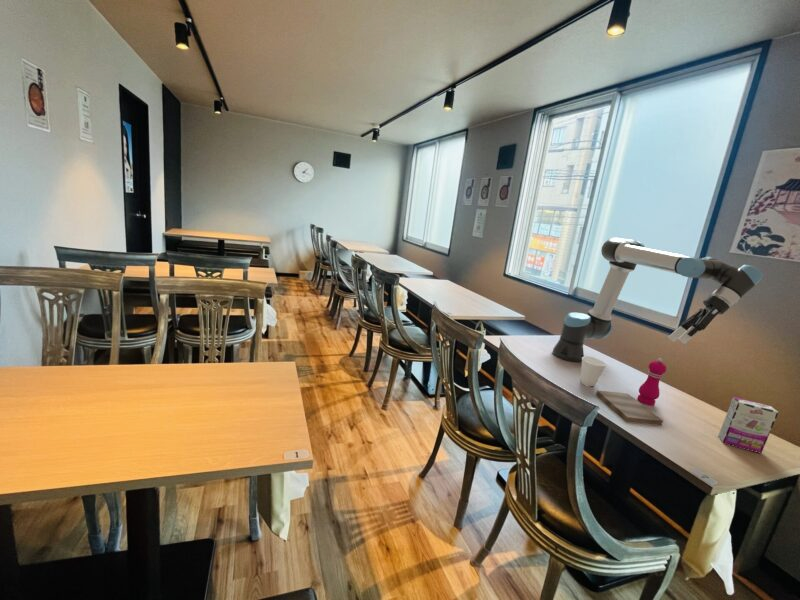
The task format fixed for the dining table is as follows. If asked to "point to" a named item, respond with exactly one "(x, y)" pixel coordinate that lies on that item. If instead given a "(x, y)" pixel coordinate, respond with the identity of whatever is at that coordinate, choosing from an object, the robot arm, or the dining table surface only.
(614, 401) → the serving board
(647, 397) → the pepper mill
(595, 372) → the cup
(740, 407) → the candy bar box
